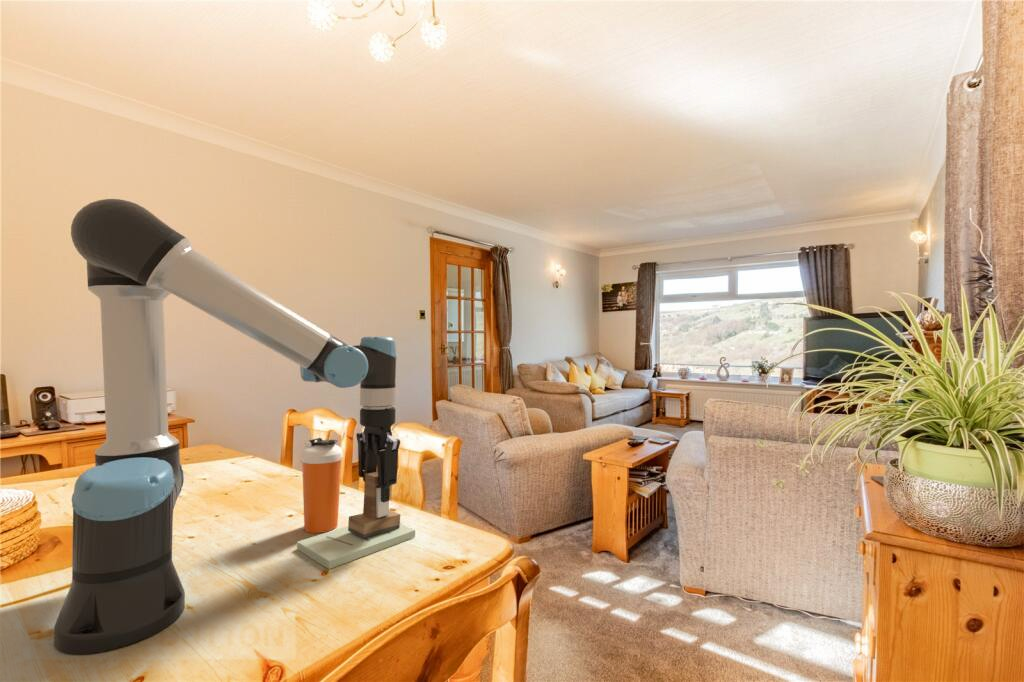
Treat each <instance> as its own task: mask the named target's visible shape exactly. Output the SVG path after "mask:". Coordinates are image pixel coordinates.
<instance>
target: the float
mask: <svg viewBox="0 0 1024 682" xmlns="http://www.w3.org/2000/svg"><path fill="white" fill-rule="evenodd" d="M376 485H379V480H378V471H376V472H372V473H366V474H365V482H364V491H363V493H364V494H363V510H362V511H363V512H362V513H358V514H354V515H350V516H348V524H347V526H348V531H350V532H352V533H354V534H356V535H358V536H360V537H362V538H367V537H370V536H374V535H377V534H381V533H384V532H388V531H391V530H395V529H398V528H400V524H401V513H398V512H396V511H393V510H390V509H389V515H386V516H383V517H380V518H377V517H376Z"/></svg>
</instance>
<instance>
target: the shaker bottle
mask: <svg viewBox="0 0 1024 682" xmlns="http://www.w3.org/2000/svg"><path fill="white" fill-rule="evenodd" d="M336 443H338V440H337V439H323V438H322V437H317V438H312V439H310V440H306V441H305V442H304V444H303V446H304V449H303V450H302V451H301V453H300V455H301V456H300V463H301V466H302V468H301V469H302V470H301V471H302V495H303V523H304V527H303V528H304V531H306V532H307V533H310V534H311V533H312V534H319V533H321V534H323V533H327V532H330V531H333V530H335V529H336V528H337V527H338V524H339V523H338V521H339V520H338V519H339V503H340V491H341V489H340V488H341V471H342V459H343V458H344V457H343V449H342V448H341V447H340V446H339V445H337V444H336Z"/></svg>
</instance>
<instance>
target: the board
mask: <svg viewBox="0 0 1024 682" xmlns="http://www.w3.org/2000/svg"><path fill="white" fill-rule="evenodd" d="M415 537H416V530H415V529H413V528H411V527H409V526H406V525H403V524H401V523H400V528H398V529H395V530H391V531H388V532H384V533H381V534H377V535H374V536H370V537H367V538H362V537H360V536H358V535H356V534H354V533H352V532H350V531H348V525H346V526H342V527H340V528H337V529H333V530H330V531H327V532H323V533H321V534H318V535H314V536H311V537H309V538H305V539H301V540H299V541H296V547H297V548H296V549H297V550H298V551H299V552H302V553H303V554H304V555H306V556H308V557H309V558H311V559H312V560H313V561H316V563H319V564H320V565H322V566H323V567H325V568H327V569H328V570H330V569H333V568H336V567H339V566H341V565H344V564H347V563H349V562H352V561H354V560H357V559H360V558H363V557H365V556H367V555H370V554H374V553H377V552H379V551H381V550H385V549H386V548H390V547H392V546H395V545H397V544H401V543H403V542H405V541H409V540H411V539H414V538H415Z"/></svg>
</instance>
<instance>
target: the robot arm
mask: <svg viewBox="0 0 1024 682" xmlns="http://www.w3.org/2000/svg"><path fill="white" fill-rule="evenodd" d="M70 235H71V240H72V243H73V246H74V247H75V250H76V251H77V252H78V254H79V255H80V256H81V257H82V258H83V259H84V260H85V261H86V277H87V279H86V280H87V290H88V291H90V293H92V294H93V295H94V296H95V297H97V298H98V299H99V302H100V324H101V344H102V347H101V348H102V349H101V350H102V367H103V371H102V372H103V373H102V374H103V392H104V393H103V394H104V416H105V440H104V442H103V443H102V444H101V445H99V447H98V448H96V449H95V451H94V463H95V465H94V466H92V467H91V468H89V469H87V470H85V471H84V472H83V473H81V474H80V475H79V477H78V478H77V479H76V481H75V483H74V487H73V493H72V496H71V507H72V555H71V556H72V557H71V560H72V561H71V563H72V564H71V567H72V570H71V571H72V574H71V575H72V576H71V577H72V578H71V585H70V587H69V590H68V592H67V594H66V596H65V599H64V602H63V604H62V607H61V609H60V612H59V614H58V617H57V619H56V622H55V624H54V629H53V646H54V647H55V648H56V649H57V650H58V651H60V652H62V653H65V654H75V655H81V654H82V655H86V654H93V653H94V654H95V653H101V652H106V651H111V650H114V649H119V648H122V647H125V646H129V645H132V644H134V643H137V642H139V641H142V640H144V639H146V638H149V637H151V636H153V635H155V634H157V633H158V632H161V631H162V630H165V628H167V627H169V626H170V625H171V624H173V623H174V622H175V621H177V620H178V618H180V616H181V615H182V614H183V613H184V611H185V604H186V603H185V601H186V600H185V599H186V597H185V595H186V594H185V589H184V586H183V584H182V582H181V578H180V577H179V574H178V572H177V570H176V567H175V565H174V562H173V526H174V525H173V522H174V521H173V520H174V519H173V518H174V516H173V515H174V508H175V506H176V503H177V501H178V498H179V497H180V494H181V492H182V488H183V487H184V486H183V485H184V480H185V476H184V470H183V468H182V467H183V466H182V465H181V459H180V458H181V457H180V454H181V453H180V440H179V438H176V437H175V435H173V434H171V433H170V432H169V414H168V393H167V392H168V391H167V390H168V389H167V388H168V387H167V386H168V385H167V368H166V366H167V365H166V341H165V316H164V314H165V313H164V301H165V299H166V298H167V297H169V295H171V294H172V295H174V296H176V297H177V298H180V299H181V300H183V301H185V302H187V303H188V304H190V305H192V306H194V307H195V308H197V309H199V310H200V311H202V312H205V313H206V314H208V315H209V316H211V317H213V318H215V319H217V320H219V321H220V322H222V323H224V324H226V325H227V326H229V327H231V328H233V329H234V330H236V331H238V332H240V333H242V334H243V335H245V336H247V337H249V338H251V339H252V340H254V341H256V342H258V343H259V344H261V345H262V346H265V347H266V348H267V349H269V350H272V351H273V352H276V353H278V354H279V355H280V356H283V357H285V358H286V359H288V360H290V361H291V362H293V363H295V364H297V365H298V366H299V372H300V377H301V379H302V381H303V382H307V383H308V382H310V383H320V382H321V383H322V382H327V383H329V384H331V385H333V386H334V387H337V388H341V389H347V388H352V387H355V386H358V385H360V387H359V391H360V392H359V405H360V407H361V408H360V410H359V424H360V426H362V427H364V428H363V431H362V432H357V433H356V441H357V452H358V453H357V455H358V456H357V457H358V458H357V460H358V464H357V465H358V467H357V468H358V477H359V478H362V481H363V482H364V483H365V474H366V473H372V472H378V480H379V485H376V517H377V518H380V517H383V516H386V515H389V510H390V499H391V498H390V497H391V495H390V493H391V486H392V485H393V486H394V485H396V484H397V483H398V482H397V481H398V463H399V462H398V461H399V460H398V459H399V448H400V445H401V440H400V438H394V437H393V432H392V428H391V427H392V426H393V425H395V423H396V408H395V407H394V406H395V405H396V376H397V375H396V374H397V373H396V372H397V358H398V357H397V346H396V341H395V339H394V338H393V337H390V336H362V338H361V339H360V343H359V344H358V345H357V344H356V345H349V344H347V343H345V342H343V341H342V340H341V339H339V338H337V337H336V336H333V335H332V334H330V333H329V332H328V331H326V330H325V329H323V328H321V327H319V326H318V325H316V324H315V323H313V322H311V321H310V320H308V319H307V318H305V317H303V316H301V315H300V314H298V313H296V312H294V310H292V309H290V308H288V307H287V306H285V305H284V304H282V303H281V302H279V301H278V300H276V299H274V298H273V297H271V296H269V295H268V294H266V293H264V292H262V291H261V290H260V289H258V288H256V287H255V286H253V285H251V284H250V283H248V282H247V281H245V280H244V279H242V278H240V277H238V276H237V275H235V274H234V273H232V272H230V271H228V270H227V269H225V268H224V267H222V266H220V265H219V264H217V263H215V262H214V261H212V260H211V259H210V258H208V257H206V256H205V255H202V253H201V254H200V253H199V252H197V251H196V250H194V249H193V248H192V246H191V245H192V244H191V242H190V239H188V238H187V237H185V236H184V235H183V234H181V233H179V232H178V231H176V230H175V229H173V228H172V227H170V226H169V225H168V224H167V223H165V222H163V221H162V220H161V219H160V218H158V217H157V216H156V215H154V214H153V213H152V212H151V211H149V210H148V209H146V208H145V207H143V206H141V205H139V204H138V203H136V202H131V201H129V200H125V199H120V198H105V199H99V200H98V199H97V200H96V201H92V202H90V203H88V204H86V205H84V206H83V207H82V208H81V209H80V210H79V211H78V212H77V213H76V214H75V216H74V217H73V219H72V222H71V226H70Z"/></svg>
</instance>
